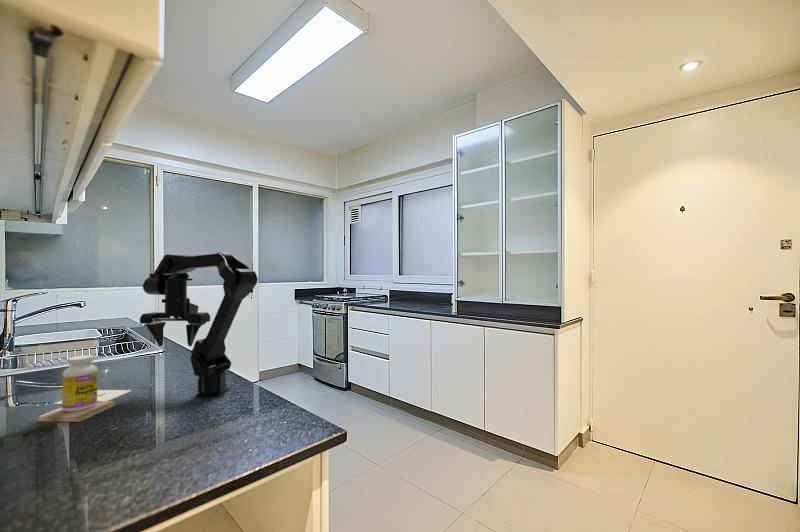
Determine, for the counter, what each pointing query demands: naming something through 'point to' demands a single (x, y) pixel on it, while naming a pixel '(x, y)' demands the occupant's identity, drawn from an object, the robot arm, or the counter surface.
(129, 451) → the counter surface
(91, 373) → the supplement bottle
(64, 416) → the oak pad
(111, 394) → the tile
